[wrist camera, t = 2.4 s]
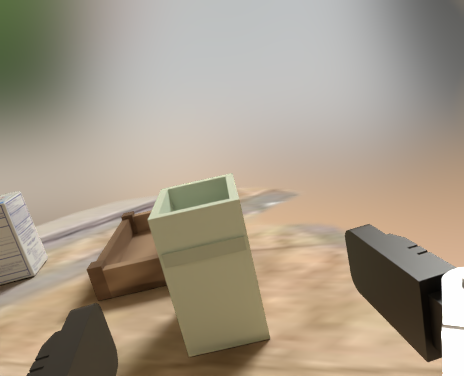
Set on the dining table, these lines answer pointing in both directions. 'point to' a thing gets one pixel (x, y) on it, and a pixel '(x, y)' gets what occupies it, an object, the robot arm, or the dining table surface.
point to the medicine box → (18, 240)
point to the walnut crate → (127, 260)
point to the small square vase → (208, 265)
